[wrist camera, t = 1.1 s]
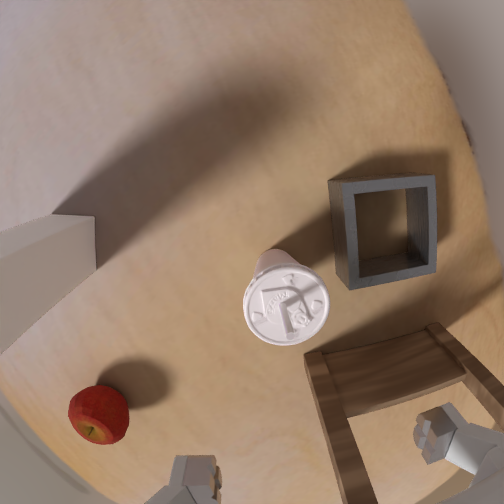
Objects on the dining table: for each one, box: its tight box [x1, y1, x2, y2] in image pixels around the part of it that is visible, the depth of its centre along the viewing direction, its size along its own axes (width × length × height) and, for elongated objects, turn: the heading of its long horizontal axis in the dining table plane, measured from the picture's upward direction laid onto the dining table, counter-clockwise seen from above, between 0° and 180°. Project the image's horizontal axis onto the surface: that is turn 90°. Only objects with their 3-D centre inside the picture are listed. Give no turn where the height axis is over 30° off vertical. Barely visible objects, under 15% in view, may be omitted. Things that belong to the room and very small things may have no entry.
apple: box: [68, 385, 129, 445], centre depth 32 cm, size 8×8×8 cm
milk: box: [0, 214, 97, 355], centre depth 20 cm, size 6×6×22 cm
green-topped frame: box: [304, 323, 504, 504], centre depth 21 cm, size 7×19×26 cm, turn 99°
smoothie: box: [243, 249, 330, 345], centre depth 25 cm, size 6×6×14 cm
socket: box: [328, 173, 437, 290], centre depth 28 cm, size 10×10×4 cm
